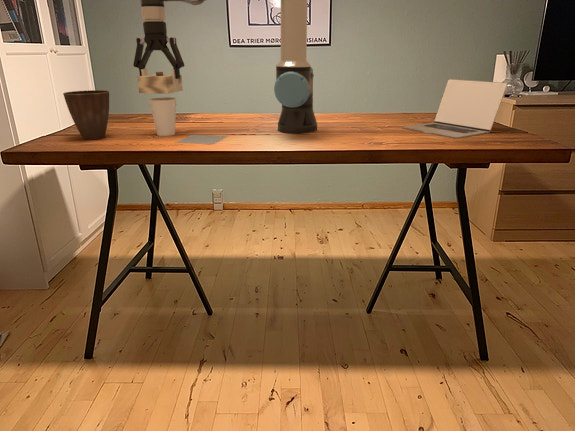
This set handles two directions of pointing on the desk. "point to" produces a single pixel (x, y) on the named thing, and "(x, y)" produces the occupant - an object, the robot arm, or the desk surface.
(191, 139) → the mat
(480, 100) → the laptop
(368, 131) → the desk surface
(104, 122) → the plant pot
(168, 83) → the lid
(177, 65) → the robot arm
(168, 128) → the foam cup
